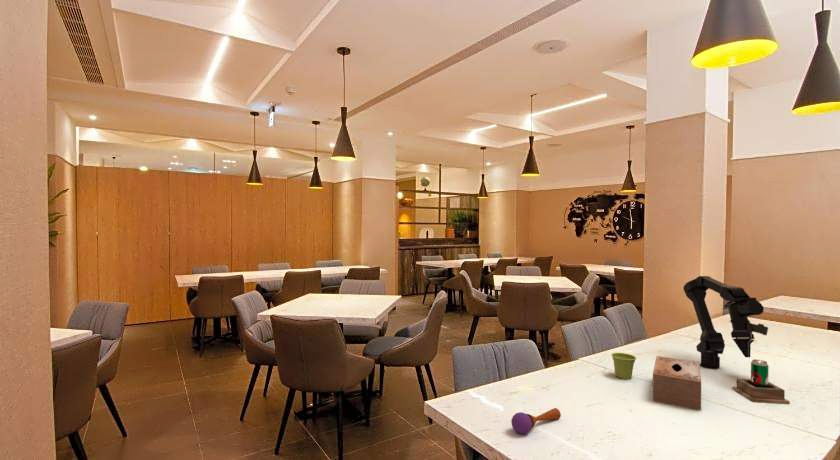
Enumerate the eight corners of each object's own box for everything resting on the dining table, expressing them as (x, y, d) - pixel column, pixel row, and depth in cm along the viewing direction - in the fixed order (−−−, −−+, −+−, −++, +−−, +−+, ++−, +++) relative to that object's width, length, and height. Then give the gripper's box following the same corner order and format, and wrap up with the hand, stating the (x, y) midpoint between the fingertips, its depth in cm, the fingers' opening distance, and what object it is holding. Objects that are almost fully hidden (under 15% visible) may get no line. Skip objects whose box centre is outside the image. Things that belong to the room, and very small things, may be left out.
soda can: (769, 397, 151) (769, 364, 151) (751, 394, 153) (751, 361, 153) (767, 392, 155) (767, 360, 155) (749, 389, 158) (750, 358, 158)
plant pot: (635, 374, 176) (635, 354, 176) (636, 382, 168) (636, 360, 168) (611, 371, 180) (611, 351, 180) (611, 378, 172) (611, 357, 172)
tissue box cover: (701, 411, 142) (701, 381, 142) (652, 401, 149) (652, 373, 149) (698, 387, 163) (698, 361, 163) (656, 379, 171) (656, 355, 171)
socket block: (732, 389, 161) (732, 377, 161) (766, 391, 159) (766, 379, 159) (752, 401, 149) (752, 389, 149) (789, 404, 147) (789, 391, 147)
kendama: (566, 409, 133) (524, 421, 121) (562, 427, 134) (520, 440, 122) (550, 400, 138) (509, 410, 126) (547, 416, 138) (505, 428, 127)
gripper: (762, 314, 159) (772, 357, 154) (765, 318, 172) (774, 357, 167) (727, 316, 166) (735, 357, 161) (732, 319, 179) (740, 357, 174)
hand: (747, 357), depth 166 cm, fingers open, 9 cm apart
